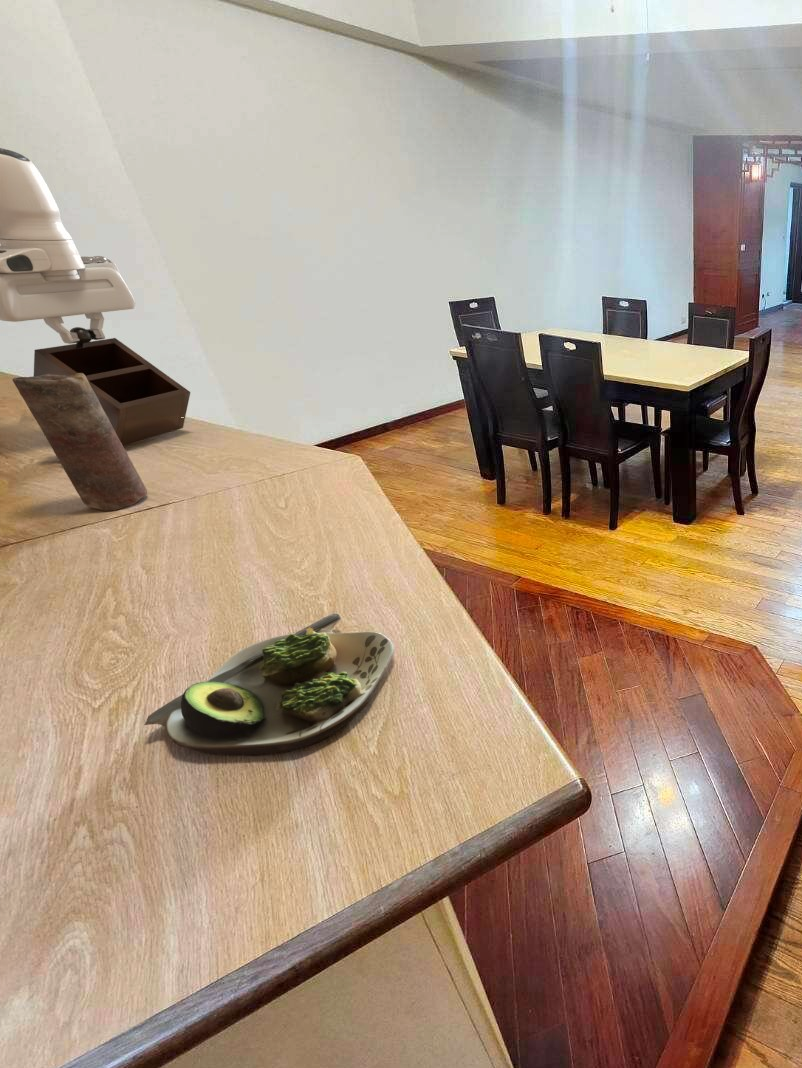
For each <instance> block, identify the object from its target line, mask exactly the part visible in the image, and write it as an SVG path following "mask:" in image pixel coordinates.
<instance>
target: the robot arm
mask: <svg viewBox="0 0 802 1068" xmlns="http://www.w3.org/2000/svg"><path fill="white" fill-rule="evenodd" d="M136 303H137V302H136V299H135V297H134V295H133V294H132V292H131V290H130V288H129V286H128V285H127V283H126V281H125V280H124V279H123V277H122V276H121V272H120V270H119V268H118V266H117V264H116V263H115V262H114V261H112V260H111V259H108V258H106V257H105V256H101V255H95V256H81V255H80V252H79V250H78V248H77V246H76V244H75V241H74V239H73V237H72V236H71V234H70V233H69V232H68V230H67V229H66V228H65V226H64V224H63V222H62V218H61V212H60V209H59V206H58V204H57V201H56V200H55V197H54V196H53V194H52V191H50V188H49V186H48V184H47V182H46V180H45V179H44V177H43V175H42V174H41V173H40V171H39V169H38V168H37V167H36V166H35V164H34V163H33V161H31V160H30V159H29V158H28V157H26V156H24V155H23V154H21V153H19V152H16V151H13V150H10V149H6V148H1V147H0V321H2V322H11V323H17V322H25V321H26V322H28V321H36V320H43V321H44V323H45V325H47V327H49V328H51V329H52V330H53V331H55V332H56V333H57V334H58V335H59V337H60V338H61V340H62V342H63V343H64V344H67V345H71V344H76V343H78V342H80V340H79V338H78V336H77V333H76V332H70V330H68V329H67V328H66V327H64V325H62V324H64V322H65V321H64V320H63V317H73V316H82V315H84V316H85V318H86V319H87V320H89V328H85V329H86V330H88V331H89V332H90V333H91V335H92V340H91V341H98V340H105V339H106V336H105V334H104V332H103V330H102V329H103V327H104V322H105V317H104V315H103V313H109V312H116V311H117V312H119V311H126V310H133V309H135V306H136Z"/></svg>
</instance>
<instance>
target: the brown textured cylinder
mask: <svg viewBox="0 0 802 1068" xmlns="http://www.w3.org/2000/svg"><path fill="white" fill-rule="evenodd" d="M12 382H13V383H14V385H15V387H16V389H17V391H18V394H19V395H20V396H21V398H22V399H23V402H24V403H25V404H26V406H27V408H28V409H29V411H30V413H31V415H32V417H33V418H34V420H35V421H36V423H37V424H38V426H39V428H40V430H41V431H42V433H43V435H44V436H45V439H46V440H47V443H48V444H49V446H50V448H51V449H52V451H53V453H54V455H55V456H56V458H57V460H58V461H59V463H60V465H61V467H62V468H63V470H64V472H65V474H66V475H67V477H68V479H69V481H70V482H71V484H72V486H73V489H75V491H76V493H77V494H78V496H79V497H80V499H81V501H82V502H83V504H84V505H85V506H86V507H88V508H93V509H96V510H101V511H103V512H104V511H105V512H108V511H109V512H110V511H116V510H120V509H122V508H124V507H128V506H132V505H135V504H136V503H137V502H138V501H139V500H141V499H142V498H144V497H146V496H147V495H148V490H147V488H146V485H145V484H144V483H143V480H142V478H141V475H140V474H139V472H138V470H137V468H136V467H135V465H134V463H133V461H132V460H131V458H130V456H129V455H128V453H127V451H126V449H125V447H124V445H122V443H121V442H120V440H119V438H118V436H117V434H116V432H115V430H114V428H113V427H112V425H111V423H110V421H109V419H108V417H107V415H106V413H105V411H104V410H103V408H102V406H101V404H100V402H99V400H98V398H97V396H96V394H95V393H94V391H93V389H92V387H91V386H90V384H89V382H88V380H87V378H86V376H85V375H84V374H83V373H76V374H75V375H70V376H65V375H62V376H60V375H49V374H48V375H41V376H36V377H34V376H21V377H20V376H18V377H14V378H12Z"/></svg>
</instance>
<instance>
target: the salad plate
mask: <svg viewBox="0 0 802 1068" xmlns="http://www.w3.org/2000/svg"><path fill="white" fill-rule="evenodd" d="M340 615H341V614H339V613H331V614H329V615H327V616H324V617H322V618H321V619H319V620H317V621H315V622H314V623H312V624H309V625H308V626H306V627H304V628H302V629H301V630H298V631H297V632H295V633H287V634H281V635H277V636H273V637H270V638H267V639H263V640H261V641H258V642H255V643H253V644H251V645H248V646H246V647H244V648H242V649H240V650H239V651H238V652H236V653H235V654H233V656H232V657H230V658H229V659H228V660H226V661H225V662H224V663H223V664H222V665H221V666H220V667H219V668H218V669H217V670H216V671H215V672H214V673H213V674H212V675H211V676H210V677H209V678H207V680H206V681H200V682H197V683H194V684H192V685H190V686H188V687H187V688H186V689H185V690H184V692H183V693H182V694H181V695H179V696H176V698H174V699H172V700H171V701H168V702H167V703H165V704H164V705H162V706H161V707H159V708H158V709H156V710H154V711H153V712H152V713H150V714H149V715H148V716H147V718H146V721H145V723H144V724H143V726H149V725H160V726H162V727H163V728H165V730H166V733H167V735H168V738H170V740H171V741H172V742H173V743H175V744H176V745H178V746H180V747H182V748H186V749H188V750H191V751H195V752H198V753H200V754H201V753H202V754H205V755H221V756H238V757H239V756H240V757H243V756H244V757H247V756H248V757H257V756H258V757H259V756H268V755H269V756H271V755H277V754H284V753H288V752H292V751H296V750H299V749H303V748H306V747H309V746H313V745H316V744H318V743H320V742H322V741H324V740H326V739H328V738H330V737H331V736H333V735H335V734H336V733H337V732H339V731H340V730H341V729H342V728H343V727H345V726H346V725H347V724H348V723H349V722H351V721H352V720H353V719H354V718H355V717H356V716H357V715H359V713H360V712H361V711H362V710H364V708H366V706H367V705H368V704H369V703H370V701H371V700H372V697H373V695H374V691H375V689H376V688H377V686H378V684H379V683H380V682H381V680H382V678H383V677H384V676H385V674H386V672H387V670H388V668H389V665H390V662H391V660H392V658H393V656H394V655H395V652H396V651H395V646H394V642H393V641H392V640H391V639H390V638H389V637H387V636H386V635H385V634H383V633H380V632H375V631H356V632H355V631H353V632H333V629H334V628H335V626H336V625H337V624H338V623H339V622H340V621H341V619H342V617H341V616H340Z"/></svg>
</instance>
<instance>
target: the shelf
mask: <svg viewBox="0 0 802 1068" xmlns="http://www.w3.org/2000/svg"><path fill="white" fill-rule="evenodd" d="M86 329H87V328H84V327H81V326H76V327H72V328H71V329H69V332H76V333H77V336H78V338H79V340H80V342H78V343H72V344H65V345H59V346H58V345H57V346H50V347H45V348H37V349H34V355H33V377H36V376H41V375H48V374H49V375H60V376H62V375H65V376H70V375H75V374H76V373H83V374H84V375H85V376H86V378H87V380H88V382H89V384H90V386H91V387H92V389H93V391H94V393H95V394H96V396H97V398H98V400H99V402H100V404H101V406H102V408H103V410H104V411H105V413H106V415H107V417H108V419H109V421H110V423H111V425H112V427H113V428H114V430H115V432H116V434H117V436H118V438H119V440H120V442H121V443H122V445H123V446H127V445H131V444H134V443H137V442H141V441H143V440H147V439H151V438H154V437H157V436H160V435H164V434H167V433H168V434H169V433H171V432H174V431H177V430H182V429H183V428H184V426H185V420H186V416H187V411H188V407H189V401H190V397H191V391H190V390H189V389H187V388H186V387H184V386H183V385H182V384H180V383H178V382H177V381H176V380H174V379H173V378H172V377H170V376H169V375H168V374H166V373H164V372H163V371H162V370H161V369H159V367H156V366H155V365H154V364H152V363H151V362H149V361H148V360H147V359H145V358H144V357H142V356H141V355H140V354H138V353H137V352H136V351H134V350H133V349H131V348H130V347H128V346H127V345H126V344H125V343H123V342H122V341H120V340H119V339H117V338H116V337H111V338H105V339H99V340H92V335H91V333H90V332H89V331H88V330H86ZM181 417H184V418H181Z"/></svg>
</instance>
